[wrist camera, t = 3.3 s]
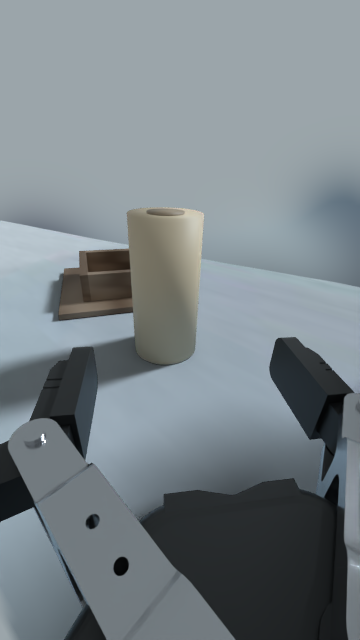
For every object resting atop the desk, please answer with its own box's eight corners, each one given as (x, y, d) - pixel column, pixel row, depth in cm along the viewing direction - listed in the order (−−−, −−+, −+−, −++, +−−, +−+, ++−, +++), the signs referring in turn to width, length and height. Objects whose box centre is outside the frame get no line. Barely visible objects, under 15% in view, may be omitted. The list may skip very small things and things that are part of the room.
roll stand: (161, 266, 43) (161, 242, 41) (191, 305, 31) (193, 275, 30) (65, 272, 39) (60, 247, 37) (59, 320, 27) (52, 286, 26)
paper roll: (184, 327, 27) (189, 205, 22) (204, 358, 23) (216, 216, 17) (131, 334, 26) (121, 206, 20) (141, 369, 21) (133, 218, 16)
